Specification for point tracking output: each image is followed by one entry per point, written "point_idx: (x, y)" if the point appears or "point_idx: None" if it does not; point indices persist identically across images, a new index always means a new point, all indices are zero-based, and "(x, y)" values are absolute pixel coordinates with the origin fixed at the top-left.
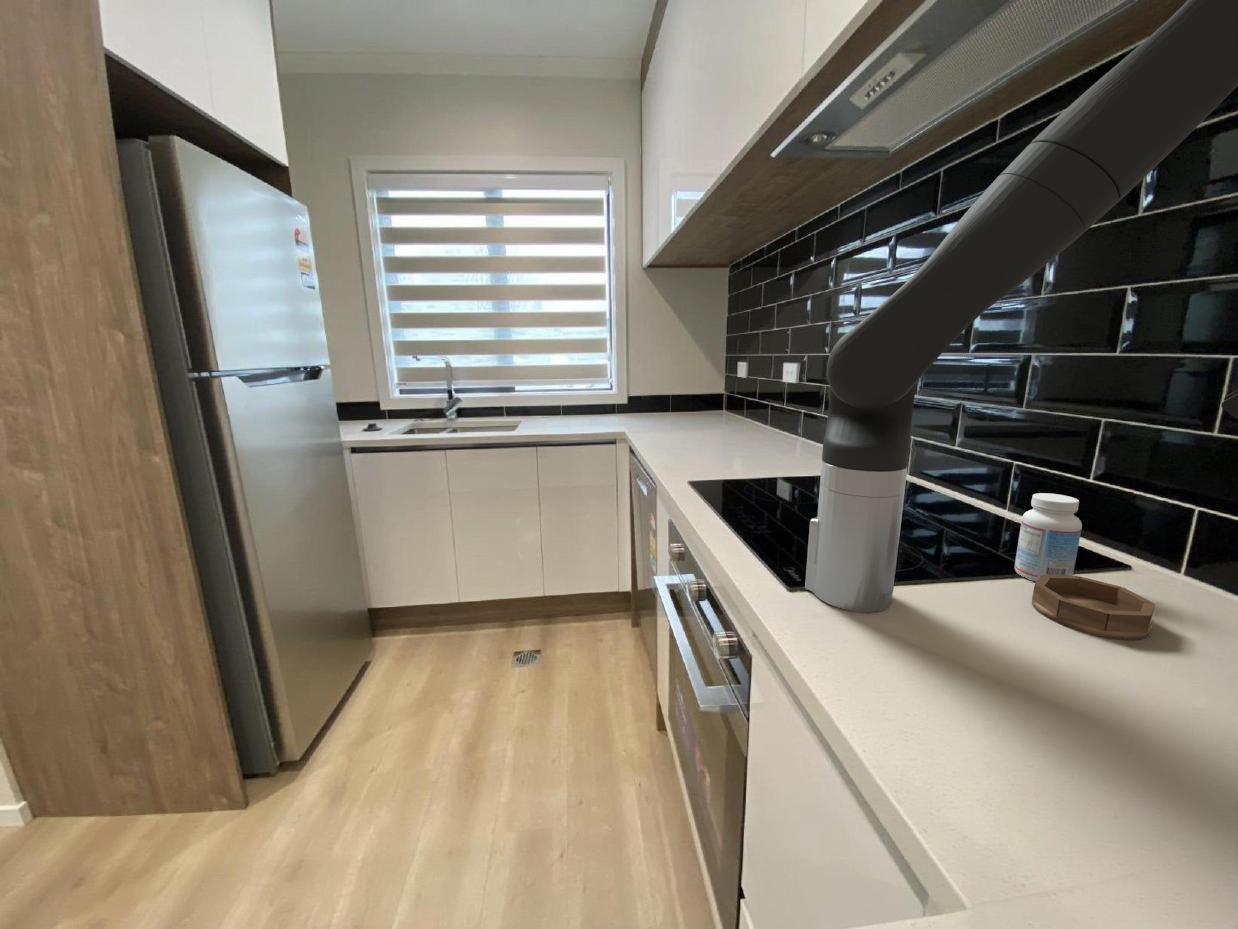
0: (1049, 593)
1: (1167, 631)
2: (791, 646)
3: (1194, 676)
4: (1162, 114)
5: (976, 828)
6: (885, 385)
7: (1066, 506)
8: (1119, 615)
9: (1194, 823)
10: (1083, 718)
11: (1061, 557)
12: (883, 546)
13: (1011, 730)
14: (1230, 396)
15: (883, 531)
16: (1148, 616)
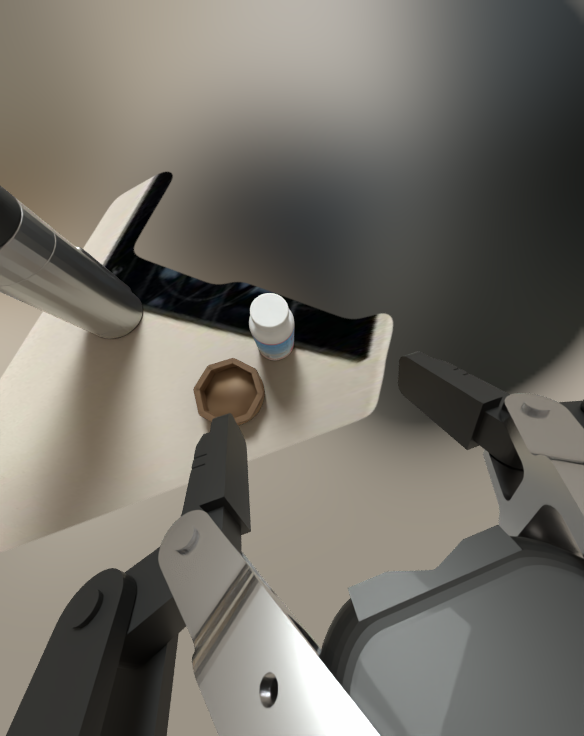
0: (199, 379)
1: (257, 427)
2: (22, 349)
3: None
4: None
5: None
6: None
7: (258, 326)
8: (205, 418)
9: (43, 525)
10: (92, 460)
11: (263, 350)
12: (53, 314)
13: (46, 451)
14: (409, 363)
15: (35, 306)
16: None
